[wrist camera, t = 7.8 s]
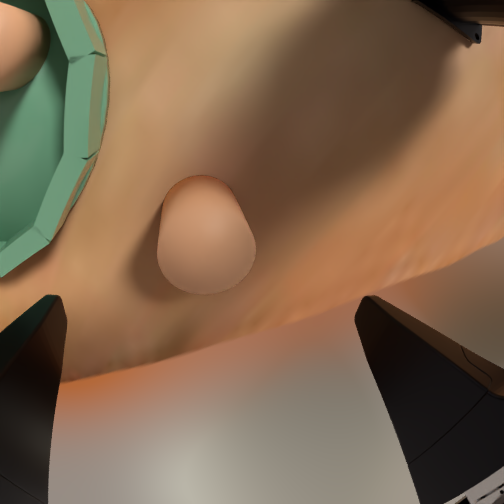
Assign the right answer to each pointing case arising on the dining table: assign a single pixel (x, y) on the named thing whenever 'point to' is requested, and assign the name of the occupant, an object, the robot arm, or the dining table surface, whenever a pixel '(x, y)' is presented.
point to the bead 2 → (204, 237)
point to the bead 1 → (21, 46)
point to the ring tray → (51, 130)
